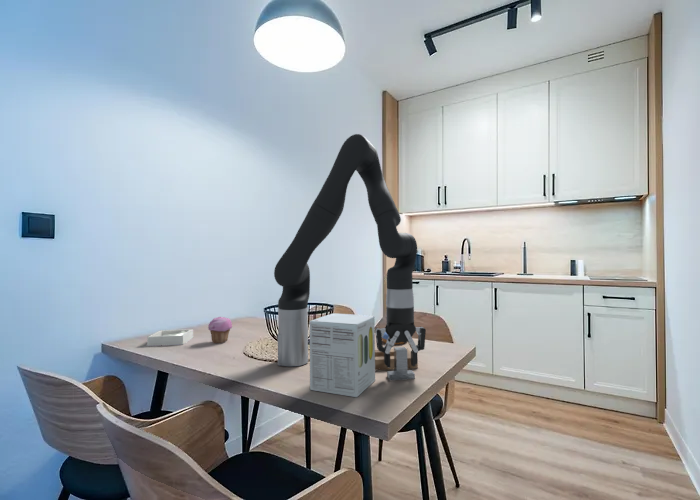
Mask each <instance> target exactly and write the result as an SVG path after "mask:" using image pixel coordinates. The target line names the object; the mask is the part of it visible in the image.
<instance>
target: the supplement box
mask: <svg viewBox="0 0 700 500" xmlns="http://www.w3.org/2000/svg"><path fill="white" fill-rule="evenodd" d="M375 317H376V316H375V315H370V314H369V315H367V314H366V315H365V314H354V313H353V314H352V313H351V314H350V313H334V312H333V313H332V312H331V313H330V314H327V315H323V316H320V317H318V318H314V319H312V320H309V390H310V391H317V392H321V393H328V394H332V395H333V394H334V395H339V396H340V395H341V396H347V397H353V398H358V397H359V396H360V395H361V394H362V393H363V392H364V391H366V389H367V388H369V387H370V386H371V385H372V384H373V383H374V382H375V381H376V370H375V350H376V345H375V344H376V342H375V341H376V334H375V329H376V328H375V327H376V326H375V324H376V323H375V320H376V319H375Z"/></svg>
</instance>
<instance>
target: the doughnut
mask: <svg viewBox="0 0 700 500" xmlns="http://www.w3.org/2000/svg"><path fill="white" fill-rule="evenodd" d="M388 338H389V336H388V334H387V333H386V332H385V333H384V336H383V337H382V343H384V344H386V342H387V340H388ZM403 344H405V343H404V342H400V343H394V345H403Z"/></svg>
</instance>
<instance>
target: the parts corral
mask: <svg viewBox="0 0 700 500" xmlns="http://www.w3.org/2000/svg"><path fill="white" fill-rule="evenodd" d="M181 331H185V332H186V333H184V334H182V335H171V336H164V335H167V334H174V333H180V332H181ZM193 338H194V329H193V328H192V329H167V330H166V329H165V330H164V329H162V330H161V329H160V330H158V331H156V332H154V333H152V334H151V335H149V336H147V339H146V340H147V341H146V342H147V344H146V345H147V347H148V346H149V347H157V346H159V347H161V345H162V346H183V345H184V344H186V343H188V342H189V341H190V340H192V339H193Z"/></svg>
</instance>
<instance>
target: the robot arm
mask: <svg viewBox="0 0 700 500" xmlns="http://www.w3.org/2000/svg"><path fill="white" fill-rule="evenodd" d="M333 162H334V163H333V165H332V167H331V170H330V172H329V174H328V175H327V178H326V179H325V181H324V183H323V185H322V187H321V189H320V191H319V193H318V194H317V196H316V197H315V199H314V201H313V202H312V204H311V206H310V208H309V210H308V211H307V213H306V215H305V218H304V219H303V221H302V223H301V224H300V226H299V228H298V230H297V232H296V234H295V237H294V238H293V239H292V241H291V243H290V245H289V246H288V247H287V249H286V250H285V251H284V253H283V254H282V256H281V257H280V258H279V260H278V261H277V262H276V264H275V267H274V271H273V274H274V275H273V276H274V279H275V282H276V284H278V285H279V286H280V287H282V293H281V295H280V297H279V298H278V300H277V309H278V311H277V313H278V314H277V316H278V317H277V318H278V329H277V330H278V334H277V366H283V367H301V366H304V365H307V364H308V363H309V329H308V328H309V327H308V326H309V325H308V324H309V323H308V318H309V317H308V316H309V315H308V313H309V311H308V304H309V302H308V301H309V299H310V292H311V291H310V290H311V272H310V266H309V263H308V262H309V260H310V258H311V256H312V254H313V253H314V251H315V250H316V249H317V247H319V246H320V244H321V243H322V242H323V241H324V240H325V239H326V238H327V237H328V235H329V234H330V233H331V232H332V231H333V229H334V228H335V226H336V224H337V222H338V221H339V219H340V218H341V216H342V213H343V212H344V208H345V202H346V196H347V189H348V186H349V183H350V180H351V179H352V176H353V175H354V174H355V172H357V173H358V175H359V176H360V178H361V179H362V181H363V183H364V185H365V189H366V192H367V193H366V194H367V201H368V206H369V209H370V212H371V214H372V216H373V218H374V219H373V220H374V221H375V224H376V228H377V234H378V235H377V236H378V242H379V248H380V250H381V252H382V253H383V254H384V255H385V256H386V257H387V258H389V259H395V262H394V265H393V266H392V267H390V268H388V269H387V272H386V297H385V306H386V308H385V309H386V310H385V311H386V317H385V318H386V324H385V327H382V328H379V327H376V328H375V341H376V342H375V344H376V350H379V351H380V352H384V363H385V365H386V366H387V367H390V353H389V352H390V350H391V349H393V348H394V345H395V344H394V343H400V342H404V343H403V344H405V343H406V344H408V346H409V347H410V349H411V350H410V351H411V365H412V366H415V365H416V364H417V362H418V359H417V358H418V353H419V352H420V351H424V350H425V348H426V347H425V343H426V333H427V329H426V328H425V327H423V326H419V327H418V326H415V306H414V305H415V299H414V298H415V296H414V290H413V288H414V287H413V286H414V285H413V271H414V268H415V263H416V259H417V254H418V243H417V240H416V238H415V236H414V235H412V234H411V233H408V232H399V231H398V228H397V227H398V226H399V225H400V223H401V221H402V219H401V215H400V213H399V210H398V207H397V206H396V204H395V202H394V199H393V197H392V194H391V192H390V189H389V188H388V185H387V183H386V181H385V177H384V173H383V171H382V170H383V169H382V166H381V162H380V159H379V155H378V151H377V148H376V146H374V145H373V143H371V141H370V140H368V138H367V137H366V136H364V135H362V134H360V133H354V134H352V135H350V136H349V137H347V138H346V140H344V142H343V144H342V145H341V147H340V148H339V151H338V154H337V156H336V158H335V160H334V161H333ZM385 332H386V333H387V334H388V336H389V338H388V340H387V342H386V343H385V345H384V344H383V341H382V337H383V336H384V333H385ZM415 333H416V334H417V335H418V337H417V338H418V339H417V344H416V342H415V341H414V338H413V336H414V334H415ZM383 345H384V346H383Z"/></svg>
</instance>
